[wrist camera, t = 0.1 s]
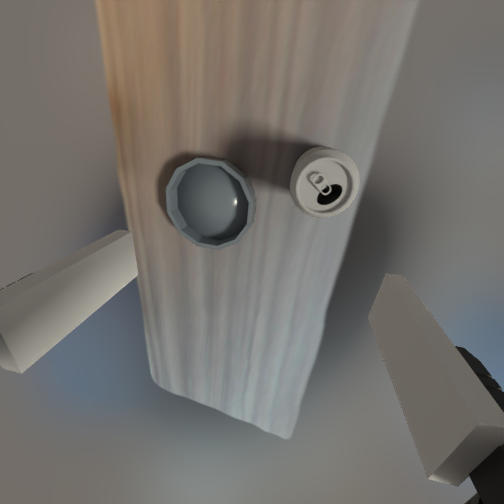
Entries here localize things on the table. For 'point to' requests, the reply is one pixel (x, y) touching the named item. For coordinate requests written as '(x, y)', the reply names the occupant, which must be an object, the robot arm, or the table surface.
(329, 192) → the can
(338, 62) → the table surface
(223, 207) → the dish
